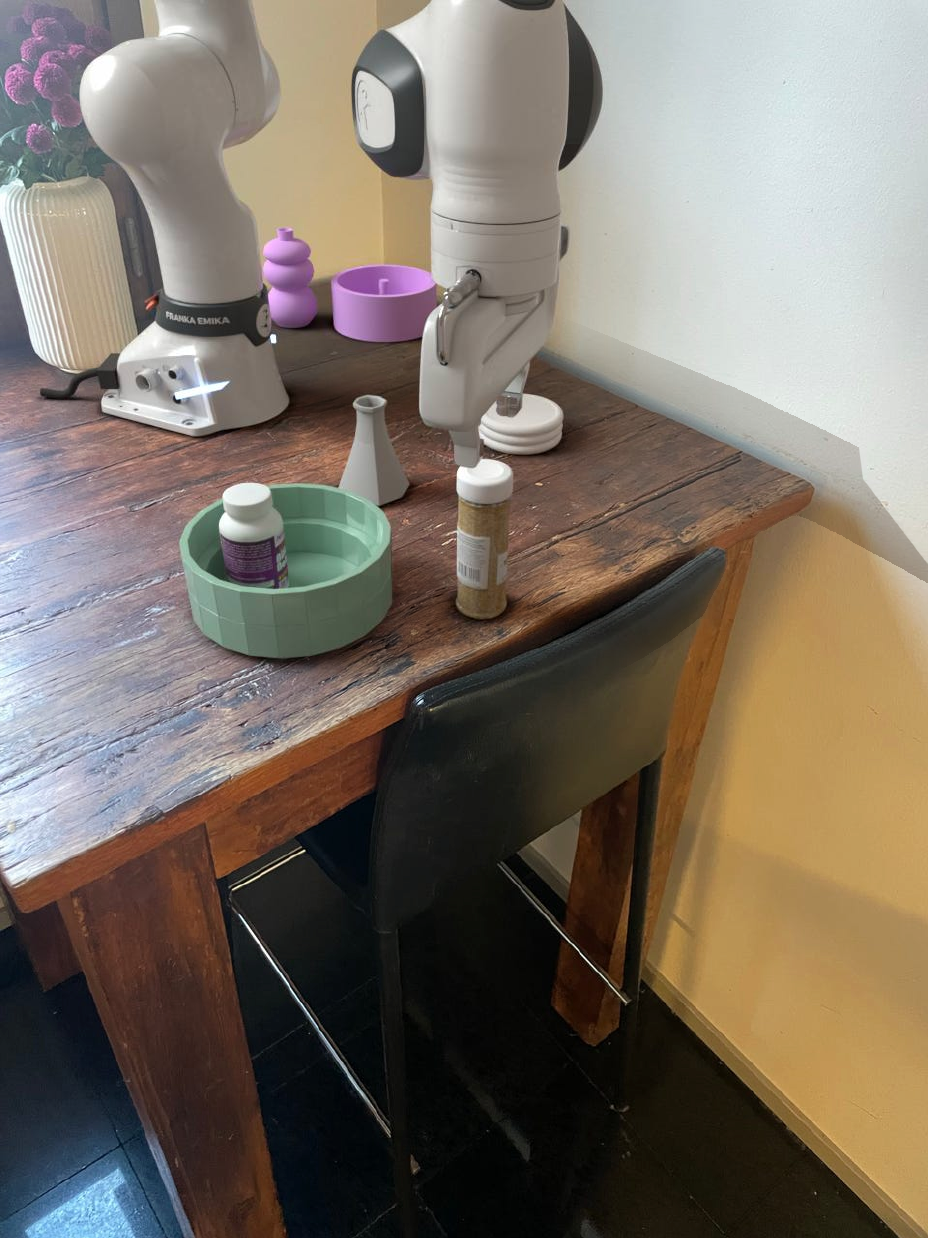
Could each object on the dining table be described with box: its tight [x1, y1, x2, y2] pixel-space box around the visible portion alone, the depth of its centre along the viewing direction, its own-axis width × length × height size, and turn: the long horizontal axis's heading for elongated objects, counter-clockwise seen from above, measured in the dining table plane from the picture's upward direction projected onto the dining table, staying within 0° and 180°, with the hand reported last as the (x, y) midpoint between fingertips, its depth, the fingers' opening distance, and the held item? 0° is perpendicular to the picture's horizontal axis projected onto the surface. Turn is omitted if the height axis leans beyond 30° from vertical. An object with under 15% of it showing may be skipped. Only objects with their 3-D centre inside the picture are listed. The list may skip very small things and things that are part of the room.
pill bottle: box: [219, 482, 289, 589], centre depth 80 cm, size 5×5×10 cm
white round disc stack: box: [478, 393, 564, 456], centre depth 109 cm, size 10×10×4 cm
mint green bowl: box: [178, 482, 394, 659], centre depth 81 cm, size 17×18×7 cm
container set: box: [262, 227, 437, 343], centre depth 135 cm, size 25×15×13 cm, turn 91°
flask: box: [338, 394, 410, 507], centre depth 96 cm, size 7×7×10 cm
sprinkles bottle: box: [455, 458, 514, 620], centre depth 79 cm, size 5×5×13 cm
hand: (489, 437), depth 73 cm, fingers open, 8 cm apart
